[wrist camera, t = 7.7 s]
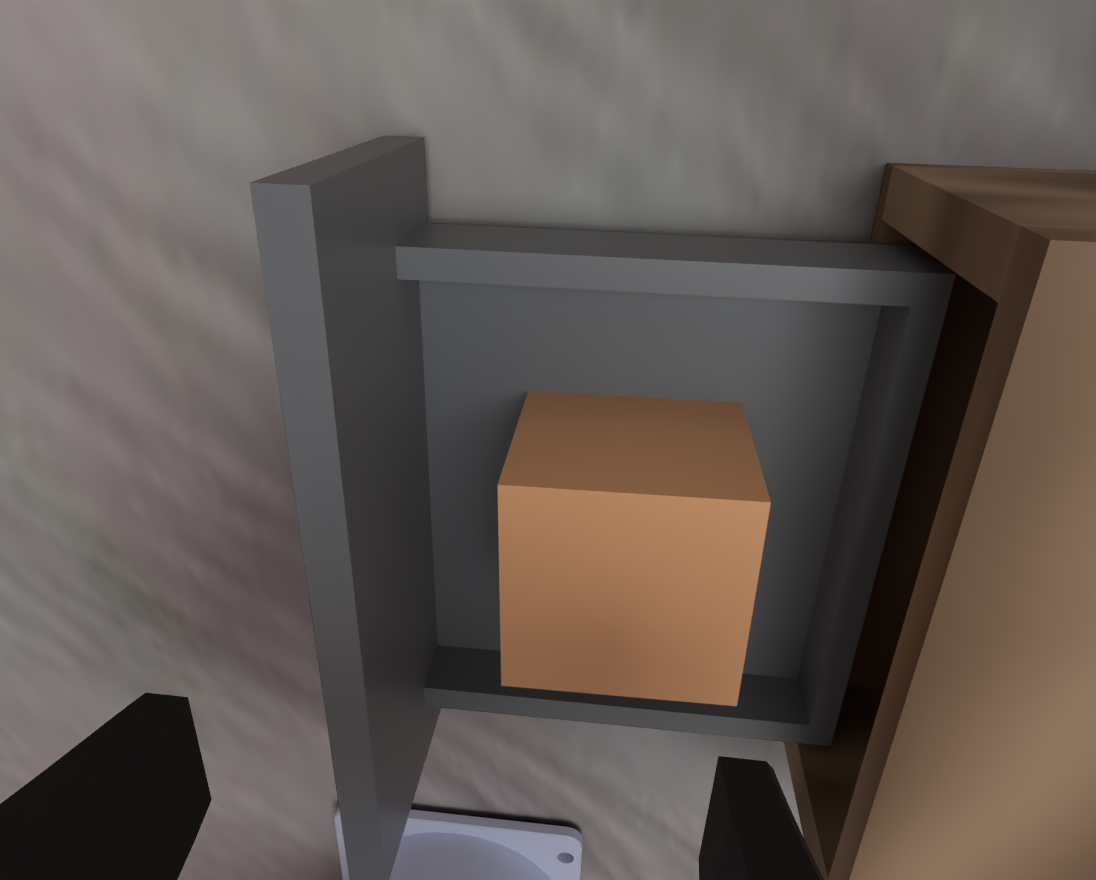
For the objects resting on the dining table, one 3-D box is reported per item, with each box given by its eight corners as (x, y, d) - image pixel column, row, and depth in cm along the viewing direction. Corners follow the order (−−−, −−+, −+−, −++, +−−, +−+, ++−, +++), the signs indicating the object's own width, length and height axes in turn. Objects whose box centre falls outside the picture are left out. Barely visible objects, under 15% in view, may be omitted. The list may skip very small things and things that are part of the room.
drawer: (420, 681, 22) (350, 884, 17) (384, 135, 15) (249, 182, 10) (800, 717, 21) (854, 944, 16) (932, 156, 15) (1099, 220, 9)
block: (718, 578, 18) (736, 706, 15) (527, 563, 19) (501, 685, 15) (742, 403, 16) (771, 502, 13) (527, 391, 17) (497, 484, 13)
